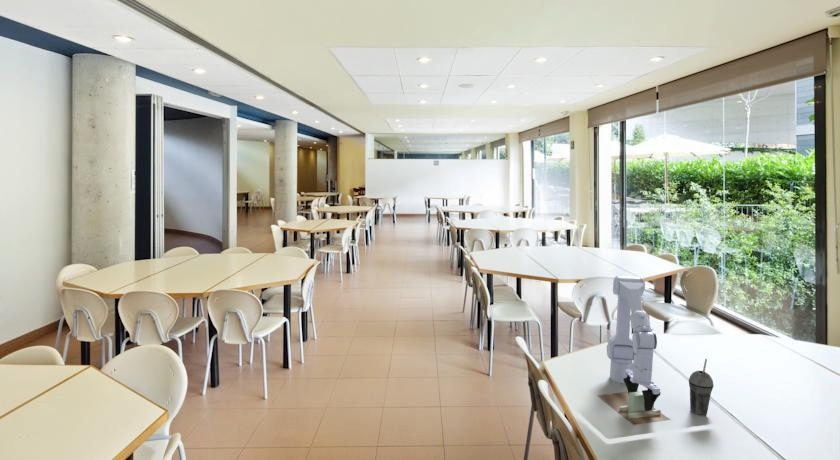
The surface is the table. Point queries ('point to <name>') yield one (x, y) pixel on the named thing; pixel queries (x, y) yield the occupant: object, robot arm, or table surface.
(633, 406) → the door panel
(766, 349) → the table surface
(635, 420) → the track base
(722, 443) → the table surface
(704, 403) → the beverage cup
